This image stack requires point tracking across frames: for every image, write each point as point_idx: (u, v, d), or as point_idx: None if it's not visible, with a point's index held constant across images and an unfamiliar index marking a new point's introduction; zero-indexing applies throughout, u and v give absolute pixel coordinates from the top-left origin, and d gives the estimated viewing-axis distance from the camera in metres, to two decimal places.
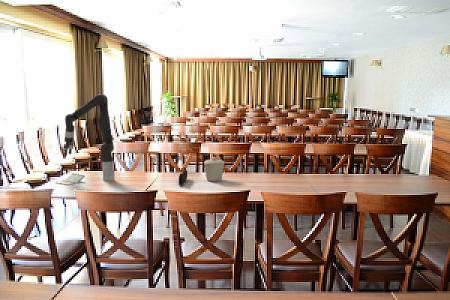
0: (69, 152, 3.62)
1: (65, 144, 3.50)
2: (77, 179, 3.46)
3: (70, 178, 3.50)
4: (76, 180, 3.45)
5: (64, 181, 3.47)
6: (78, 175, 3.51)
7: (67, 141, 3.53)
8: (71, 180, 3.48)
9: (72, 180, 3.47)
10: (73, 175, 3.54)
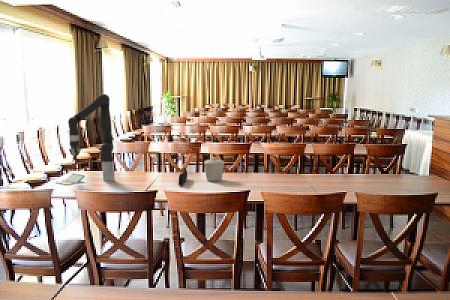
0: None
1: (79, 150, 3.47)
2: (77, 179, 3.46)
3: (70, 178, 3.50)
4: (76, 180, 3.45)
5: (64, 181, 3.47)
6: (78, 175, 3.51)
7: (77, 145, 3.48)
8: (71, 180, 3.48)
9: (72, 180, 3.47)
10: (73, 175, 3.54)
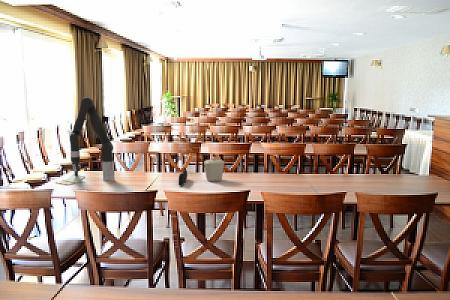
0: None
1: (80, 166, 3.50)
2: (77, 179, 3.47)
3: (70, 179, 3.51)
4: (76, 180, 3.46)
5: (64, 181, 3.47)
6: (79, 176, 3.52)
7: (78, 160, 3.50)
8: (71, 180, 3.48)
9: (72, 180, 3.47)
10: (74, 176, 3.54)
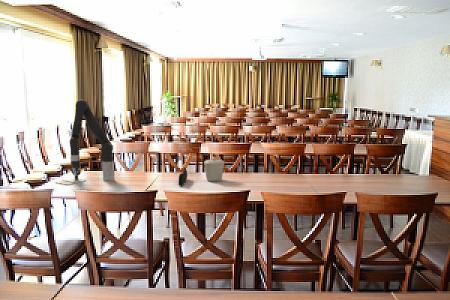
0: None
1: (80, 170, 3.50)
2: (78, 181, 3.47)
3: (71, 180, 3.51)
4: (77, 181, 3.46)
5: (64, 181, 3.47)
6: (80, 179, 3.53)
7: (78, 164, 3.51)
8: (72, 181, 3.48)
9: (73, 181, 3.48)
10: None
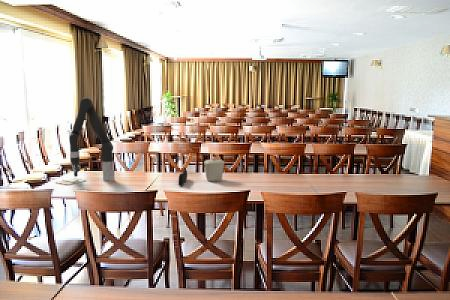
0: None
1: (80, 167, 3.49)
2: (78, 181, 3.47)
3: (71, 180, 3.51)
4: (77, 181, 3.46)
5: (64, 181, 3.47)
6: (80, 179, 3.53)
7: (78, 161, 3.50)
8: (72, 181, 3.48)
9: (73, 181, 3.48)
10: (75, 179, 3.56)
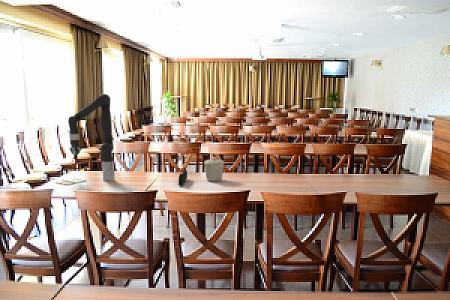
0: None
1: (80, 149, 3.48)
2: (78, 181, 3.47)
3: (71, 180, 3.51)
4: (77, 181, 3.46)
5: (64, 181, 3.47)
6: (80, 179, 3.53)
7: (77, 143, 3.49)
8: (72, 181, 3.48)
9: (73, 181, 3.48)
10: (75, 179, 3.56)
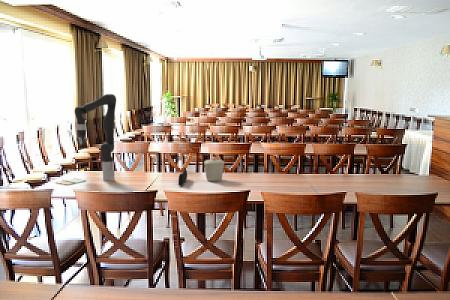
0: None
1: (86, 139, 3.60)
2: (78, 181, 3.47)
3: (71, 180, 3.51)
4: (77, 181, 3.46)
5: (64, 181, 3.47)
6: (80, 179, 3.53)
7: (84, 133, 3.60)
8: (72, 181, 3.48)
9: (73, 181, 3.48)
10: (75, 179, 3.56)
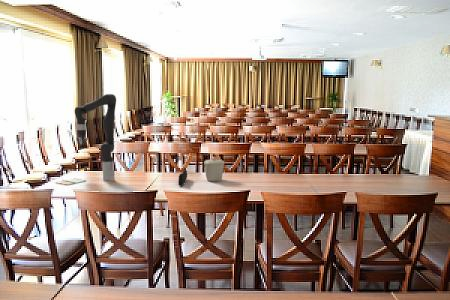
0: None
1: (86, 139, 3.60)
2: (78, 181, 3.47)
3: (71, 180, 3.51)
4: (77, 181, 3.46)
5: (64, 181, 3.47)
6: (80, 179, 3.53)
7: (84, 133, 3.60)
8: (72, 181, 3.48)
9: (73, 181, 3.48)
10: (75, 179, 3.56)
